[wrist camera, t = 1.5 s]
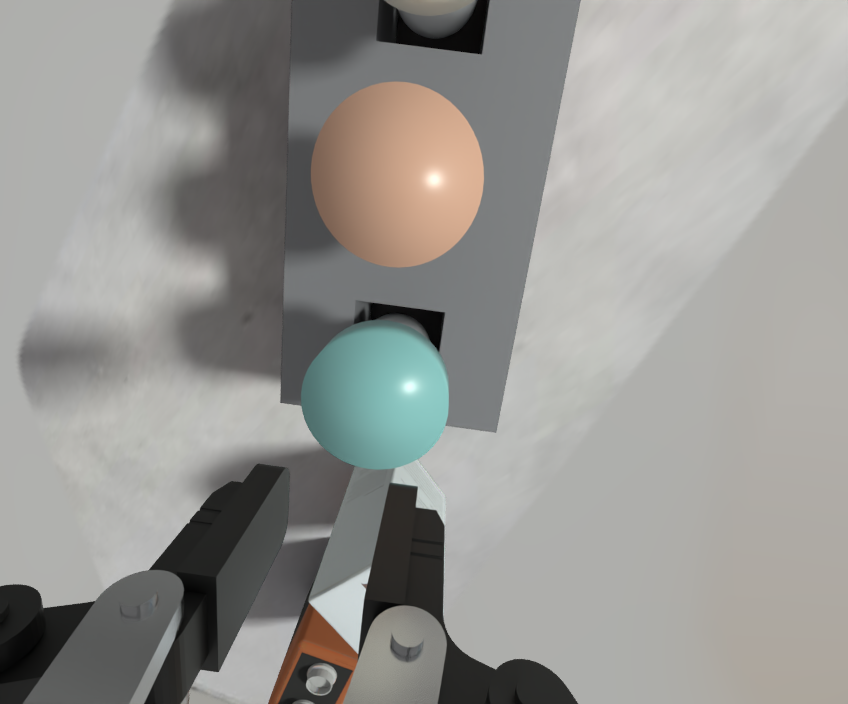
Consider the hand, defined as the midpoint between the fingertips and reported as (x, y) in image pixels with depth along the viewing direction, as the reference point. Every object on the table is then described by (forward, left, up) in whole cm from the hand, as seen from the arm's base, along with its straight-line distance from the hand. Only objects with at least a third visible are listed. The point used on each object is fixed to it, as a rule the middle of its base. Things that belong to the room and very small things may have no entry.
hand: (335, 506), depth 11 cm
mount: (-8, 0, -19) cm, 21 cm away
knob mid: (-8, 0, -14) cm, 16 cm away
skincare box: (+12, +1, -19) cm, 23 cm away
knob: (0, 0, -14) cm, 14 cm away
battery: (+21, -2, -19) cm, 29 cm away
